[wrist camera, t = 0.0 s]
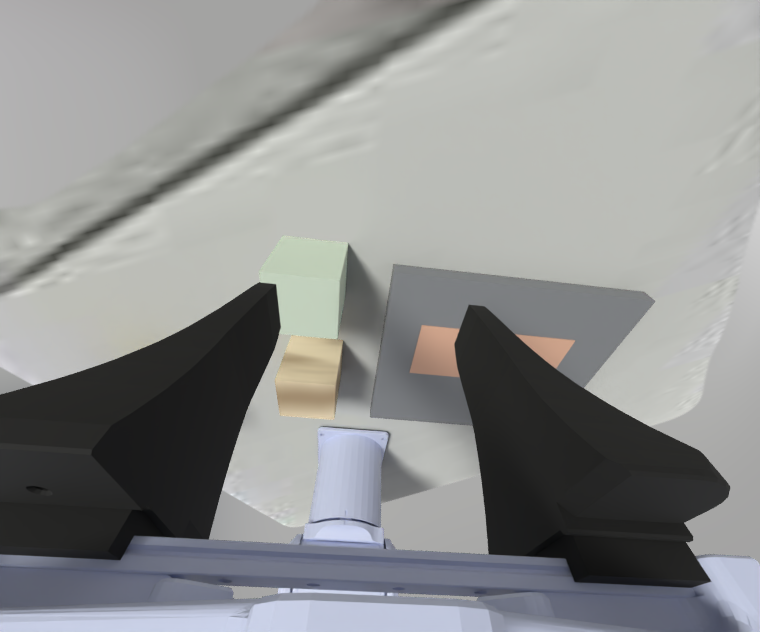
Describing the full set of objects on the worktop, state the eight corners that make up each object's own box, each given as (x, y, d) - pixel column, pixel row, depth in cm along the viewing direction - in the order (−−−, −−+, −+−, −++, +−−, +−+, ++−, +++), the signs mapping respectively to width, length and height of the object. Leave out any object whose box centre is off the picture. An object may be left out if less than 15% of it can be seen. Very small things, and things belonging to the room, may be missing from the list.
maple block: (341, 373, 29) (334, 419, 25) (294, 369, 28) (280, 415, 24) (343, 339, 26) (335, 385, 22) (291, 334, 26) (274, 380, 22)
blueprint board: (543, 421, 33) (548, 432, 32) (370, 407, 32) (370, 418, 31) (644, 292, 22) (656, 302, 21) (393, 264, 21) (394, 273, 20)
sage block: (345, 295, 23) (337, 339, 19) (287, 289, 23) (267, 332, 19) (348, 242, 20) (339, 280, 17) (283, 235, 20) (258, 271, 16)
